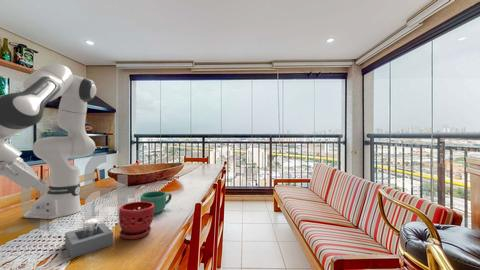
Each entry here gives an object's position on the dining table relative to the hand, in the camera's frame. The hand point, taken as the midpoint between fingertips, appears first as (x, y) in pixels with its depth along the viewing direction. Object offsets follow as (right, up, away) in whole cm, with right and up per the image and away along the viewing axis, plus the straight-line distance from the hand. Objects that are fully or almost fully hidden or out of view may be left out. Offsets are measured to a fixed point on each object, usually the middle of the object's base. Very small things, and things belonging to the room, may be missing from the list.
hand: (45, 188), depth 66 cm
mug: (+18, -24, +45) cm, 54 cm away
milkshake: (+7, -24, +9) cm, 26 cm away
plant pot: (+20, -24, +19) cm, 37 cm away
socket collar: (+8, -23, +9) cm, 26 cm away
